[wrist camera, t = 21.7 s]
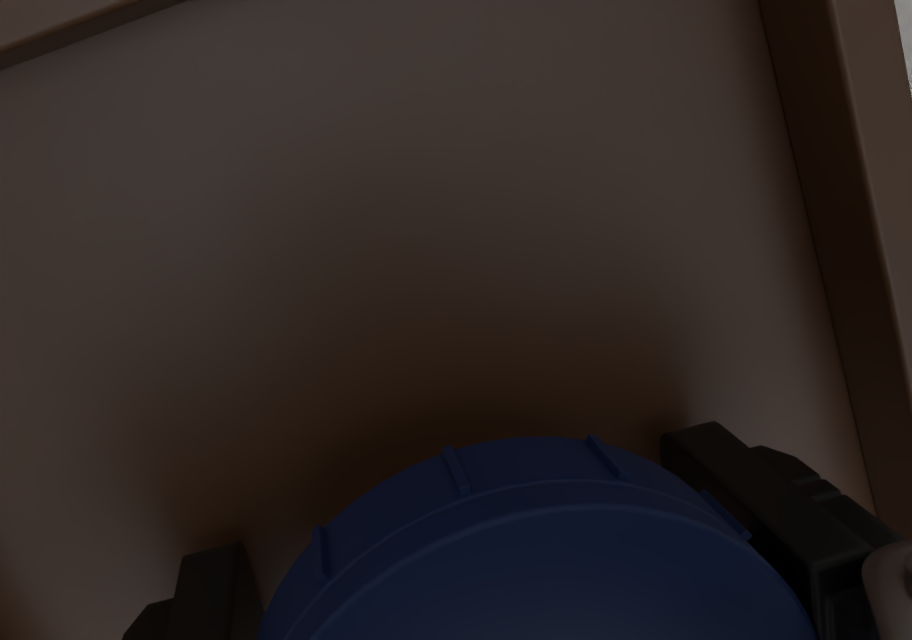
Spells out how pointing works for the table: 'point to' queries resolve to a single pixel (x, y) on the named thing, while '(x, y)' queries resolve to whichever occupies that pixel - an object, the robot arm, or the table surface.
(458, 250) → the tray
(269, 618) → the lid
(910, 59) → the table surface
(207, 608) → the robot arm
